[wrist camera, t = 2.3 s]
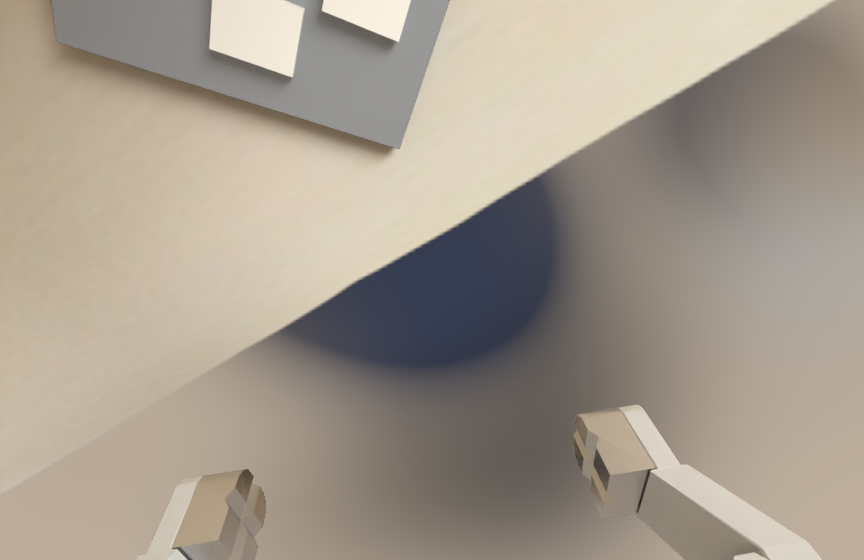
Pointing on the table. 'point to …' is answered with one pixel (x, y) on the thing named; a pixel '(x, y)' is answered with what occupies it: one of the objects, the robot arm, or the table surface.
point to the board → (298, 96)
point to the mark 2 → (372, 14)
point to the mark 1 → (258, 32)
